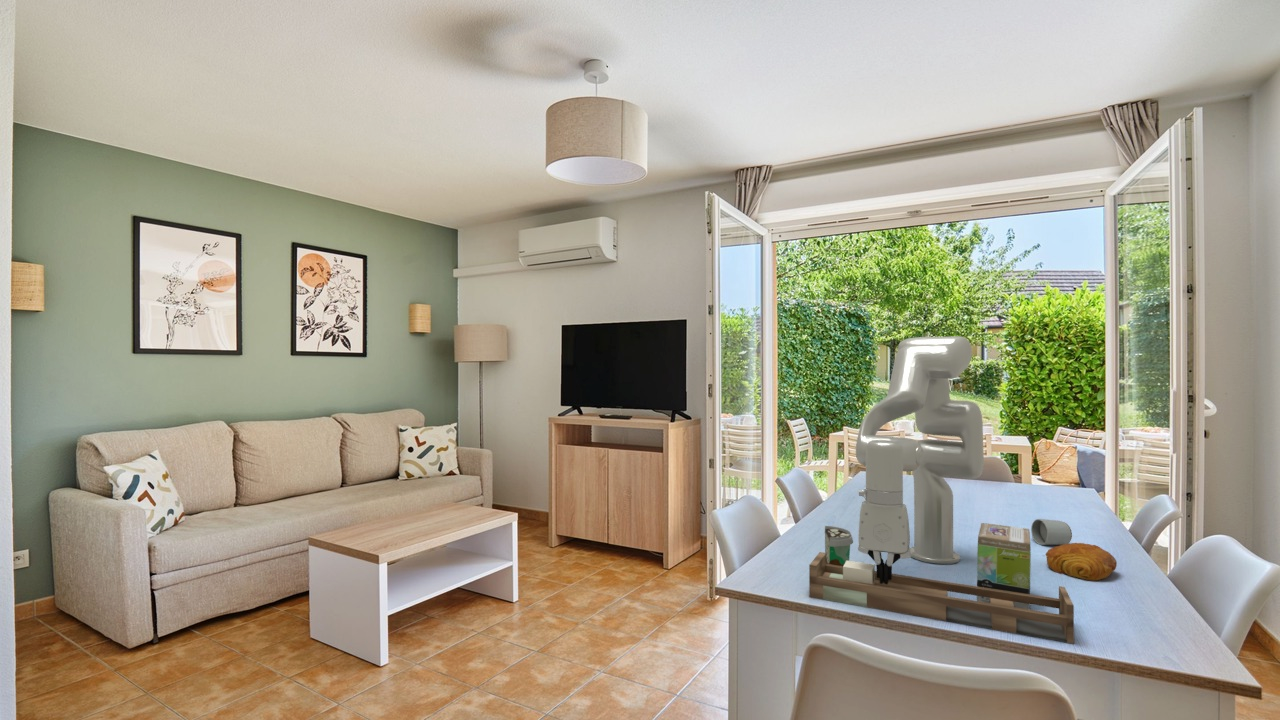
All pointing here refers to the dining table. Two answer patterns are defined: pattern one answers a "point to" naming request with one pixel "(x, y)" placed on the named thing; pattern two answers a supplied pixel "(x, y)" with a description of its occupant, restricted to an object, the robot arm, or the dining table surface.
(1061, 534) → the ceramic mug
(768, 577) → the dining table surface
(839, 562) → the food container
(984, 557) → the tea box
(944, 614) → the wooden rack
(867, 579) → the block
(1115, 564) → the swirled bread bun
